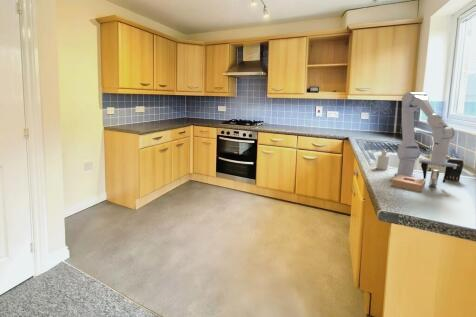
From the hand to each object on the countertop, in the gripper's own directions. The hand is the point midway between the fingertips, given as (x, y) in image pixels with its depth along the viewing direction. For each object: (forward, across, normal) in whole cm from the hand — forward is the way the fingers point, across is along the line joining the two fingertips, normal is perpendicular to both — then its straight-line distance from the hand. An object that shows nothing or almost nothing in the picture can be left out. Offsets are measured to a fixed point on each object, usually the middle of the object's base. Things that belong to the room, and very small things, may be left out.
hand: (433, 180), depth 135 cm
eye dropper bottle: (+3, -27, +17) cm, 32 cm away
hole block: (+3, -9, -8) cm, 12 cm away
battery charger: (+3, +6, +21) cm, 22 cm away
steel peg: (+3, 0, 0) cm, 3 cm away
